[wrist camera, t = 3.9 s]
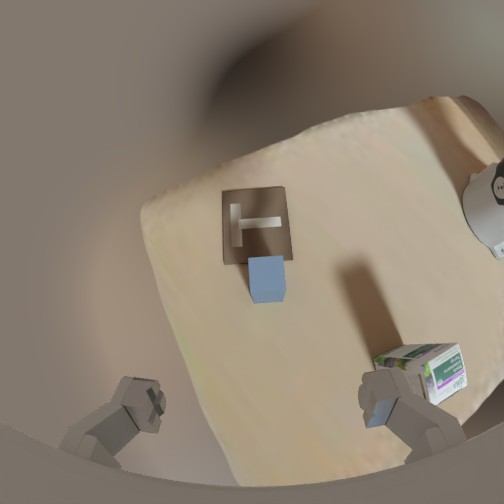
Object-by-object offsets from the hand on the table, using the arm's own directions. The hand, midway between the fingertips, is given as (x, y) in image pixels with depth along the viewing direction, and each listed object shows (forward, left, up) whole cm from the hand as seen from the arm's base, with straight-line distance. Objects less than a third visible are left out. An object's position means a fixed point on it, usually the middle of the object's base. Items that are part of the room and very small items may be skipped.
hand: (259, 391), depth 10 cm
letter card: (0, -20, -29) cm, 35 cm away
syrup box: (-19, +4, -29) cm, 35 cm away
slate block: (-1, -10, -29) cm, 31 cm away
